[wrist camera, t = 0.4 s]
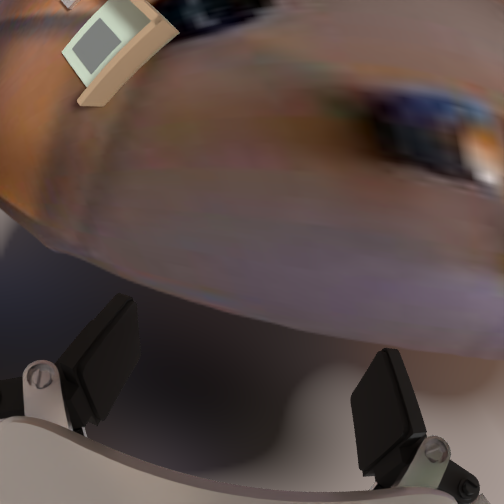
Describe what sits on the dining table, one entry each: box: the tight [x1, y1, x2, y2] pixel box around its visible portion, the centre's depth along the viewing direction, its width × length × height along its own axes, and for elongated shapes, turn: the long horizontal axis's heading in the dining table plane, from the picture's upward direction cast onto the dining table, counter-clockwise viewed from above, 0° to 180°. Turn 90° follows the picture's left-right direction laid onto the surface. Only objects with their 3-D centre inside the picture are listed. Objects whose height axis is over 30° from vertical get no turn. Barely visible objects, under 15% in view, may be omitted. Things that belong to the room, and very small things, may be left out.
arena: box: [62, 0, 180, 107], centre depth 27 cm, size 16×16×6 cm
